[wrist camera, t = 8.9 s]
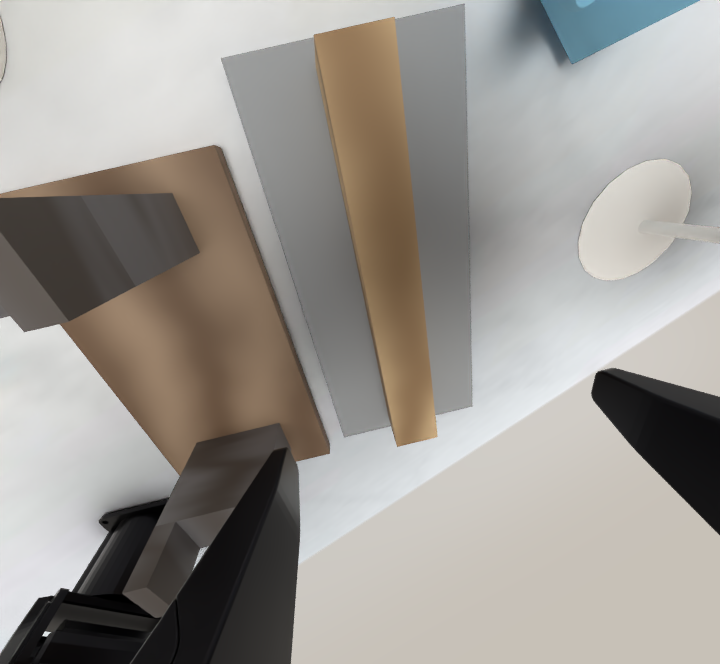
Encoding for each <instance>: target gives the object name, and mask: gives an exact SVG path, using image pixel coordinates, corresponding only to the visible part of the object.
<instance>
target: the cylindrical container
mask: <svg viewBox="0 0 720 664" xmlns="http://www.w3.org/2000/svg"><path fill="white" fill-rule="evenodd" d="M5 64H6V41H5V36H4V31H3V27H2V22H1V18H0V82H1V80H2V77H3V75H4V69H5Z"/></svg>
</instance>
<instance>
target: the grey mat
mask: <svg viewBox="0 0 720 664" xmlns="http://www.w3.org/2000/svg"><path fill="white" fill-rule="evenodd" d="M395 26H396V35H397V45H398V55H399V65H400V75H401V84H402V94H403V104H404V114H405V124H406V133H407V143H408V153H409V163H410V173H411V182H412V192H413V202H414V212H415V222H416V231H417V241H418V251H419V261H420V271H421V280H422V290H423V300H424V310H425V320H426V329H427V339H428V349H429V359H430V369H431V378H432V388H433V398H434V408H435V415H438V414H443V413H447V412H451V411H455V410H459V409H463V408H468V407H472V361H471V309H470V258H469V206H468V155H467V103H466V51H465V4H461V5H457V6H452V7H448V8H443V9H439V10H434V11H430V12H425V13H421V14H416V15H412V16H407V17H403V18H399V19H395ZM221 60H222V64H223V67H224V70H225V73H226V76H227V79H228V82H229V85H230V88H231V91H232V94H233V97H234V100H235V103H236V106H237V110H238V113H239V116H240V119H241V122H242V125H243V128H244V131H245V134H246V137H247V140H248V143H249V146H250V149H251V153H252V156H253V159H254V162H255V165H256V168H257V171H258V174H259V177H260V180H261V183H262V186H263V189H264V192H265V195H266V199H267V202H268V205H269V208H270V211H271V214H272V217H273V220H274V223H275V226H276V229H277V232H278V235H279V238H280V241H281V245H282V248H283V251H284V254H285V257H286V260H287V263H288V266H289V269H290V272H291V275H292V278H293V281H294V284H295V288H296V291H297V294H298V297H299V300H300V303H301V306H302V309H303V312H304V315H305V318H306V321H307V324H308V327H309V330H310V334H311V337H312V340H313V343H314V346H315V349H316V352H317V355H318V358H319V361H320V364H321V367H322V370H323V373H324V377H325V380H326V383H327V386H328V389H329V392H330V395H331V398H332V401H333V404H334V407H335V410H336V413H337V416H338V419H339V423H340V426H341V429H342V432H343V435H344V437H347V436H351V435H356V434H360V433H364V432H368V431H372V430H376V429H380V428H385V427H389V426H391V424H390V420H389V417H388V412H387V407H386V402H385V397H384V393H383V388H382V383H381V378H380V373H379V369H378V364H377V359H376V354H375V349H374V345H373V340H372V335H371V330H370V325H369V321H368V316H367V311H366V306H365V301H364V297H363V292H362V287H361V282H360V277H359V273H358V268H357V263H356V258H355V253H354V249H353V244H352V239H351V234H350V229H349V225H348V220H347V215H346V210H345V205H344V201H343V196H342V191H341V186H340V181H339V177H338V172H337V167H336V162H335V157H334V153H333V148H332V143H331V138H330V133H329V129H328V124H327V119H326V114H325V109H324V105H323V100H322V95H321V90H320V85H319V81H318V76H317V71H316V65H315V48H314V38H309V39H305V40H301V41H296V42H292V43H287V44H283V45H278V46H274V47H269V48H265V49H260V50H256V51H251V52H247V53H243V54H238V55H234V56H229V57H225V58H221Z"/></svg>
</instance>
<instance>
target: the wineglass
mask: <svg viewBox="0 0 720 664" xmlns="http://www.w3.org/2000/svg"><path fill="white" fill-rule="evenodd" d="M691 193H692V191H691V185H690V180H689V176H688V174H687V173H686V172H685V171H684V169H683V168H682V167H681V166H680V164H677V163H675V162H672V161H669V160H667V159H659V160H648V161H645V162H643V163H640V164H638V165H636V166H634V167H631V168H629V169H627V170H626V171H625V172H623V173H622V174H621V175H619V176H618V177H617V178H616V179H614V180H613V181H612V182H610V183H609V184H608V185H607V187H606V188H605V189H604V190H603V191H602V193H601V194H600V195H599V196H598V197H597V199H596V200H595V201H594V202H593V204H592V206H591V208H590V210H589V212H588V214H587V215H586V217H585V219H584V221H583V224H582V228H581V232H580V236H579V240H578V248H579V259H580V261H581V263H582V265H583V268H584V270H585V271H587V272H588V273H589V274H590V275H592V276H593V277H594V278H597V279H602V280H606V281H610V280H618V279H624V278H626V277H628V276H631V275H633V274H636V273H638V272H640V271H641V270H643V269H644V268H646V267H647V266H648V265H650V264H651V263H653V262H654V261H655V260H656V259H657V258H658V257H659V256H660V255H661V254H662V253H663V252H664V251H665V250H666V249H667V248H668V247H669V246H670V245H671V243H672V242H673V240H674V239H675V238H682V239H690V240H697V241H704V242H711V243H718V244H720V227H711V226H701V225H690V224H683V223H684V221H685V219H686V216H687V214H688V211H689V207H690V200H691Z"/></svg>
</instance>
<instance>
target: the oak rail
mask: <svg viewBox="0 0 720 664" xmlns="http://www.w3.org/2000/svg"><path fill="white" fill-rule="evenodd" d="M314 48H315V65H316V71H317V76H318V81H319V85H320V90H321V95H322V100H323V105H324V109H325V114H326V119H327V124H328V129H329V133H330V138H331V143H332V148H333V153H334V157H335V162H336V167H337V172H338V177H339V181H340V186H341V191H342V196H343V201H344V205H345V210H346V215H347V220H348V225H349V229H350V234H351V239H352V244H353V249H354V253H355V258H356V263H357V268H358V273H359V277H360V282H361V287H362V292H363V297H364V301H365V306H366V311H367V316H368V321H369V325H370V330H371V335H372V340H373V345H374V349H375V354H376V359H377V364H378V369H379V373H380V378H381V383H382V388H383V393H384V397H385V402H386V407H387V412H388V417H389V420H390V424H391V427H392V431H393V434H394V437H395V441H396V444H397V447H398V446H402V445H406V444H411V443H415V442H419V441H423V440H427V439H431V438H435V437H437V427H436V418H435V408H434V398H433V388H432V378H431V369H430V359H429V349H428V339H427V329H426V320H425V310H424V300H423V290H422V280H421V271H420V261H419V251H418V241H417V231H416V222H415V212H414V202H413V192H412V182H411V173H410V163H409V153H408V143H407V133H406V124H405V114H404V104H403V94H402V84H401V75H400V65H399V55H398V45H397V35H396V26H395V17H392V18H387V19H383V20H378V21H374V22H369V23H365V24H360V25H356V26H351V27H347V28H342V29H338V30H333V31H329V32H324V33H320V34H315V35H314Z"/></svg>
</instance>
